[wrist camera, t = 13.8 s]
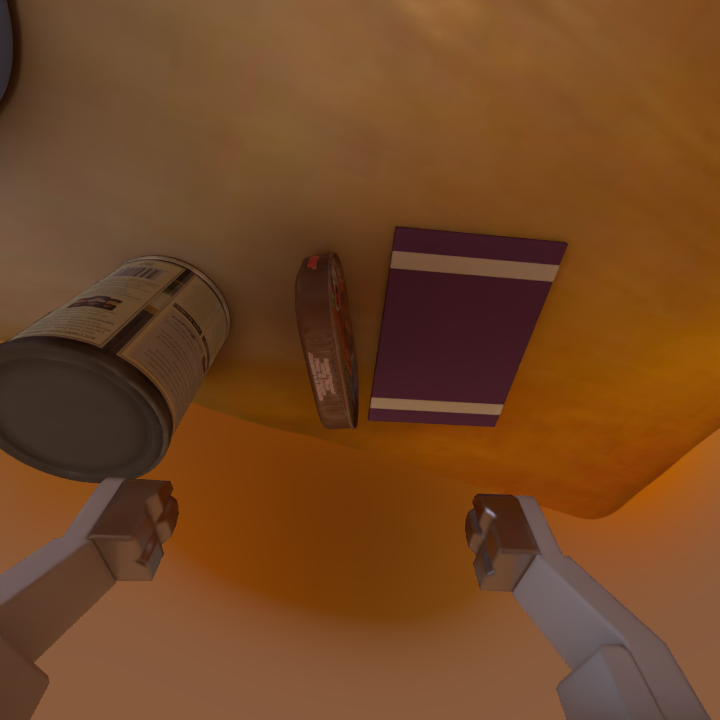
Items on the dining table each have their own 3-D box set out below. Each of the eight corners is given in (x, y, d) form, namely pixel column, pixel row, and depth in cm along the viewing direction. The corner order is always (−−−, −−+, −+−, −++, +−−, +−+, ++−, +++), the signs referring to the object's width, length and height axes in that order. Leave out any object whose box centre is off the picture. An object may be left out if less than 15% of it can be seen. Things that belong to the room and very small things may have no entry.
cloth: (565, 242, 30) (568, 243, 29) (493, 424, 40) (494, 427, 40) (395, 226, 29) (396, 227, 28) (368, 418, 39) (368, 420, 39)
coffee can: (161, 375, 36) (68, 501, 24) (80, 282, 30) (-91, 384, 18) (254, 340, 34) (203, 458, 22) (185, 234, 28) (69, 314, 17)
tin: (360, 388, 37) (363, 450, 30) (329, 391, 37) (325, 454, 30) (339, 238, 29) (336, 275, 22) (299, 243, 29) (284, 281, 22)
